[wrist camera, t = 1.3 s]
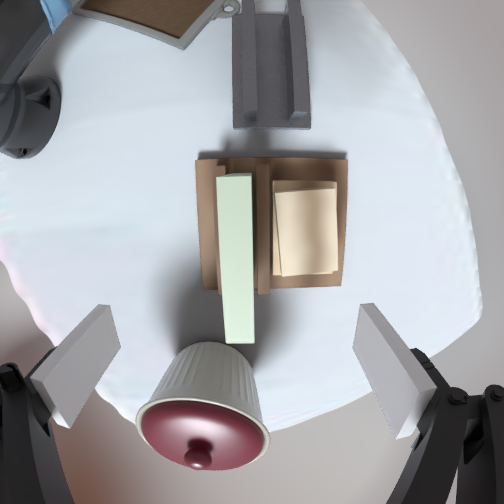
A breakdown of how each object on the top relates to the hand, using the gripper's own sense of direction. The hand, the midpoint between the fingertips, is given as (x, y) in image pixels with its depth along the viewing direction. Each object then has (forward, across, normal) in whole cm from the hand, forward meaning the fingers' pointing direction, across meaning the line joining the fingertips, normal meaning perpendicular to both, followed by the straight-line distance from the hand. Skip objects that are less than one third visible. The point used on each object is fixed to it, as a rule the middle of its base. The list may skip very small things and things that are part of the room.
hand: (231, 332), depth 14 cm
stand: (+26, +4, +22) cm, 34 cm away
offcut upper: (+22, +8, 0) cm, 23 cm away
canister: (+26, -6, -24) cm, 36 cm away
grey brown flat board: (+26, -13, +41) cm, 51 cm away
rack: (+26, +4, 0) cm, 26 cm away
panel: (+24, 0, 0) cm, 25 cm away
